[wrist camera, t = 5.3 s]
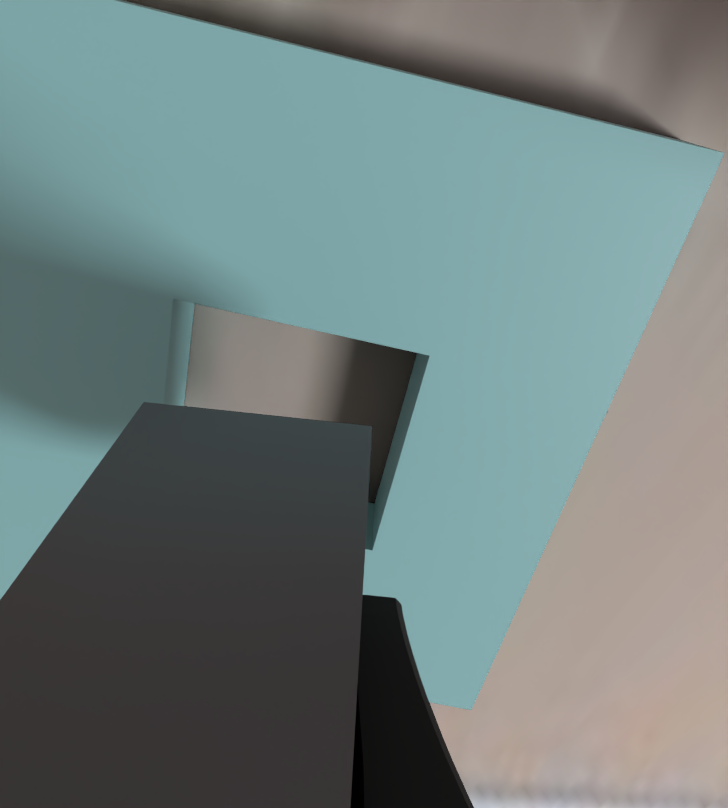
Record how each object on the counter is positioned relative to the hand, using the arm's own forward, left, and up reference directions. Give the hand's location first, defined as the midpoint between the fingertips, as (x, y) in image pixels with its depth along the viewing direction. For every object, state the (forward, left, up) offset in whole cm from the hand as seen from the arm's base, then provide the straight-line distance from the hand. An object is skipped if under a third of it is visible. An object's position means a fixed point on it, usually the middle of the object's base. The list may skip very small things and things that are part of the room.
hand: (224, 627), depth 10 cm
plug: (0, 0, -3) cm, 3 cm away
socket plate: (0, 0, -8) cm, 8 cm away
